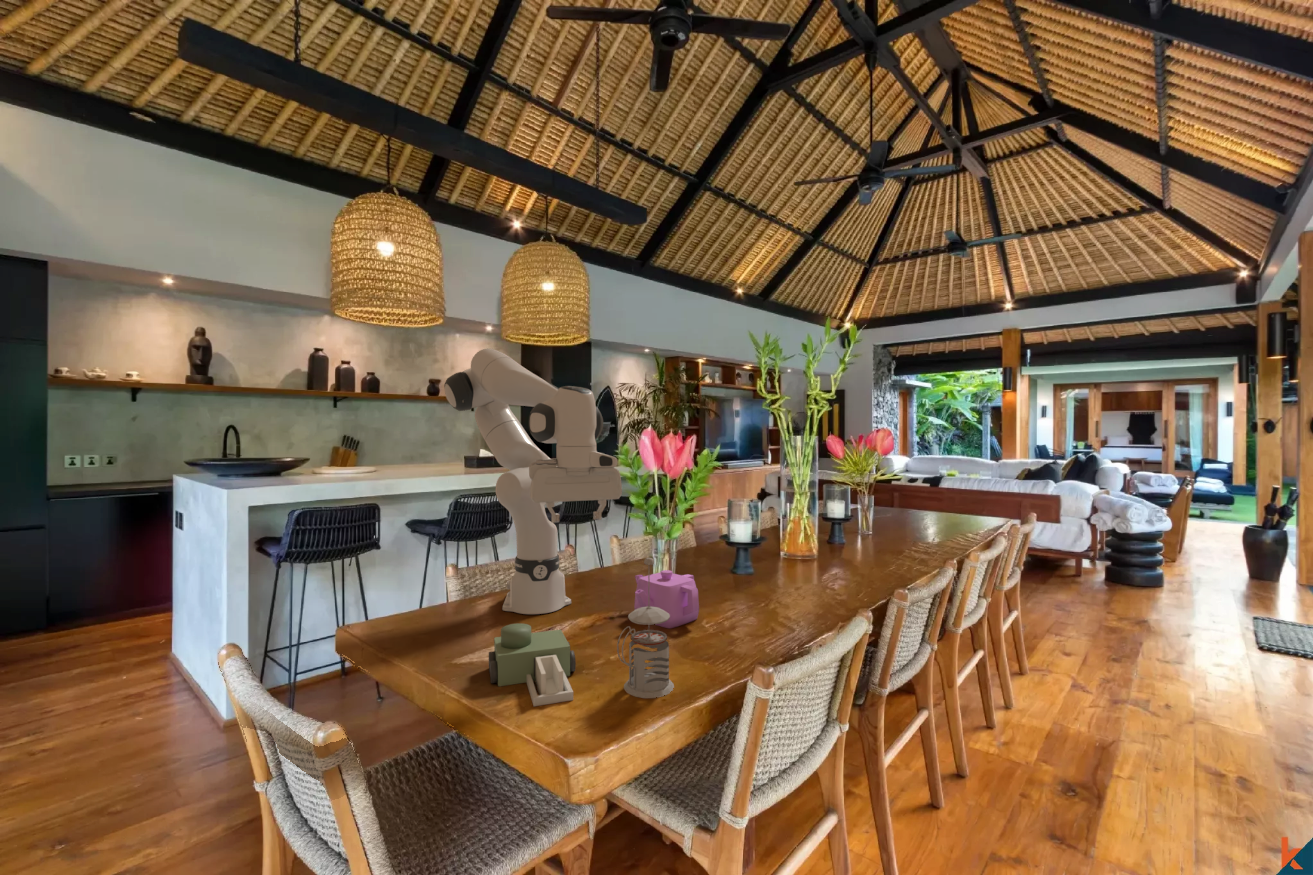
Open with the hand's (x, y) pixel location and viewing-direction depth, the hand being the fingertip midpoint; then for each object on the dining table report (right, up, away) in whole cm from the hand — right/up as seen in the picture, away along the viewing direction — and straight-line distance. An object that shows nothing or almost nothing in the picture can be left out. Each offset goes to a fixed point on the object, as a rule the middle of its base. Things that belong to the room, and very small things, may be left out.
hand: (576, 520), depth 127 cm
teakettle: (+20, -29, +23) cm, 42 cm away
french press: (+16, -30, -17) cm, 38 cm away
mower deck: (-6, -29, -15) cm, 33 cm away
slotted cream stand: (-3, -30, -18) cm, 35 cm away
